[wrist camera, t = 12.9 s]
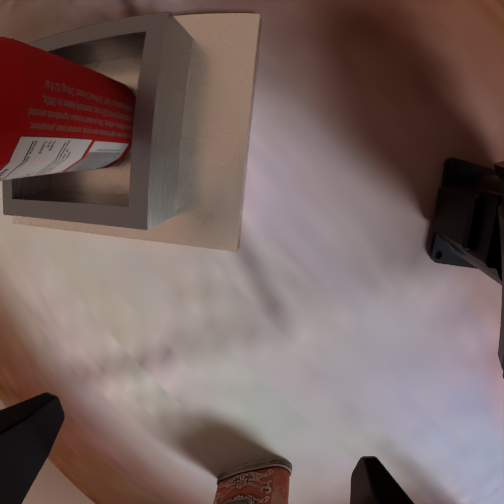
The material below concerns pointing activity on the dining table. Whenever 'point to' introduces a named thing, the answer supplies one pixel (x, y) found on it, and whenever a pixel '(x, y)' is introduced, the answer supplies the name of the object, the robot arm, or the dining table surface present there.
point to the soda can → (59, 114)
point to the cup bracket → (159, 132)
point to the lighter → (255, 483)
